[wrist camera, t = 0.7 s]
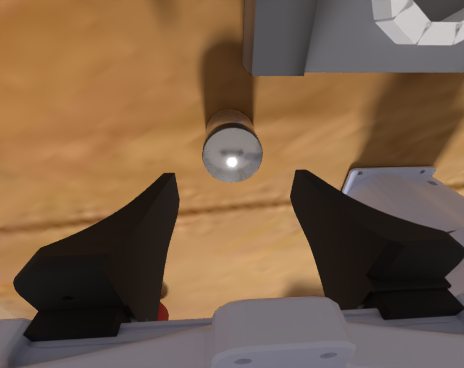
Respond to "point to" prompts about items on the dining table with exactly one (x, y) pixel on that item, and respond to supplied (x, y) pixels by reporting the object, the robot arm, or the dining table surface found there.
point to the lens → (231, 146)
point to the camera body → (353, 36)
